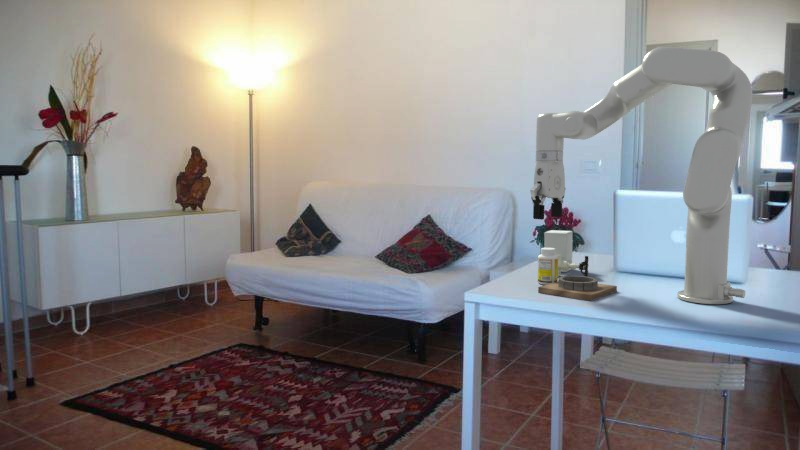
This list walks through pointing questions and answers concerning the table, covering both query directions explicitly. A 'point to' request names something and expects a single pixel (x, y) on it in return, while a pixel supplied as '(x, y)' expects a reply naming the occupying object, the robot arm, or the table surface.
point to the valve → (572, 266)
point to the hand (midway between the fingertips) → (547, 217)
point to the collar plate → (578, 293)
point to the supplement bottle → (547, 266)
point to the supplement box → (560, 244)
